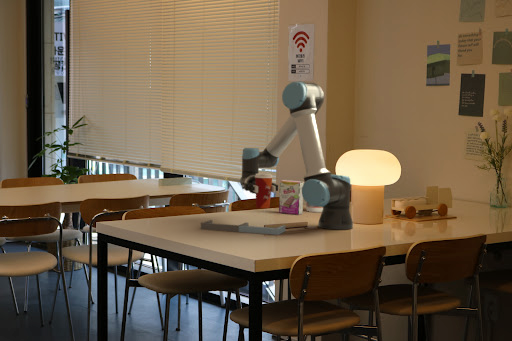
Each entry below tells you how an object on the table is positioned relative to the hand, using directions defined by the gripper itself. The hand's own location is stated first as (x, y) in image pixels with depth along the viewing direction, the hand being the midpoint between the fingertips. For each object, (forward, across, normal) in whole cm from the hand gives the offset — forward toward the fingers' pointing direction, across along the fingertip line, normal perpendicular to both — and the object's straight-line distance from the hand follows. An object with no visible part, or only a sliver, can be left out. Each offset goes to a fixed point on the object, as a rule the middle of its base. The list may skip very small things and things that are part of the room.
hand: (266, 189), depth 304 cm
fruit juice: (-67, -42, -18) cm, 81 cm away
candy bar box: (-59, -27, -18) cm, 67 cm away
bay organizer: (-7, +8, -18) cm, 21 cm away
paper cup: (-5, 0, -8) cm, 10 cm away
